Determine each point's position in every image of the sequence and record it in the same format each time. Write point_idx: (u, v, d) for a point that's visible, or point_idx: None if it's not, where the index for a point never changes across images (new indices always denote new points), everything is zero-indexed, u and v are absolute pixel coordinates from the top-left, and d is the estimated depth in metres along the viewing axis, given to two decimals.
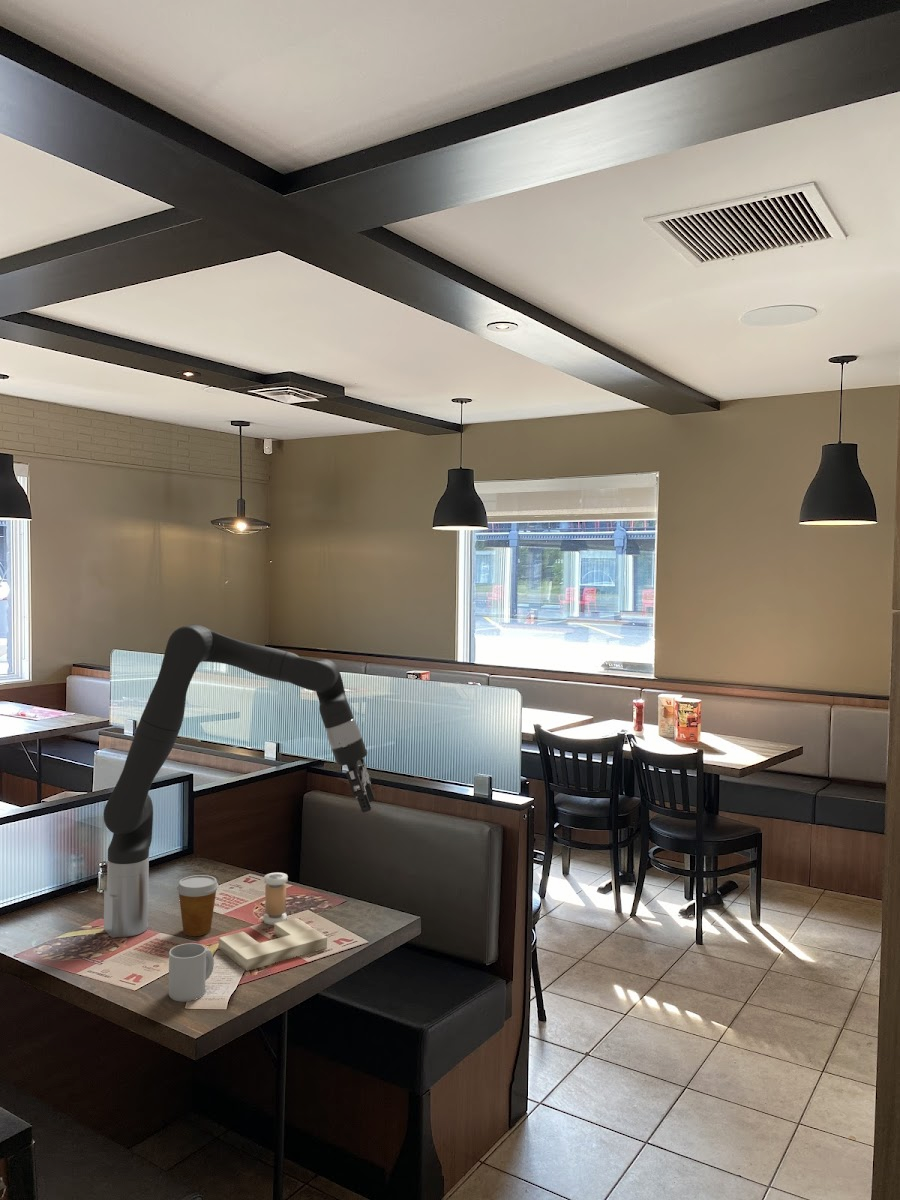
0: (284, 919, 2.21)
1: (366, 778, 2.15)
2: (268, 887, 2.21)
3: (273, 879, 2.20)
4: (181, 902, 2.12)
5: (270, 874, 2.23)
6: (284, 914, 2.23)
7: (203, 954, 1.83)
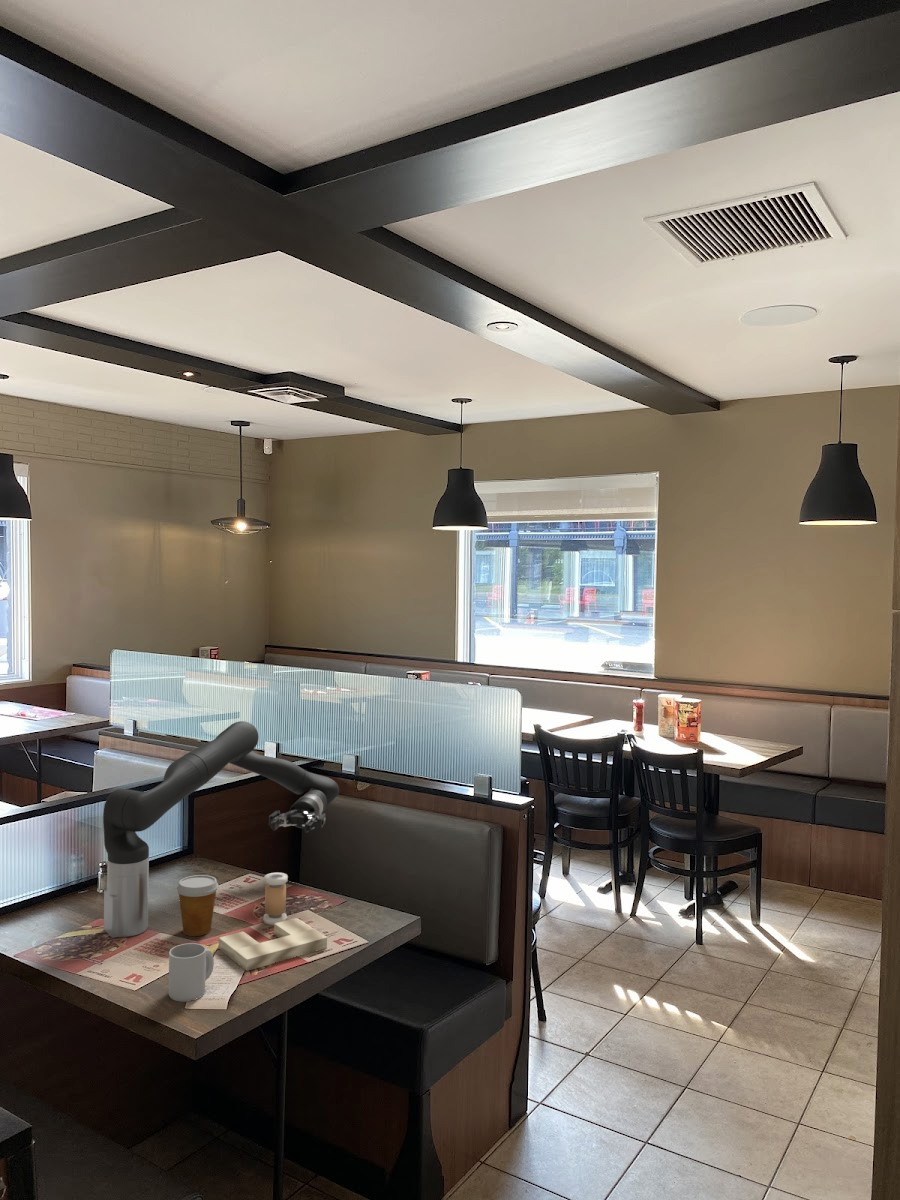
0: (284, 919, 2.21)
1: (285, 824, 2.39)
2: (268, 887, 2.21)
3: (273, 879, 2.20)
4: (181, 902, 2.12)
5: (270, 874, 2.23)
6: (284, 914, 2.23)
7: (203, 954, 1.83)
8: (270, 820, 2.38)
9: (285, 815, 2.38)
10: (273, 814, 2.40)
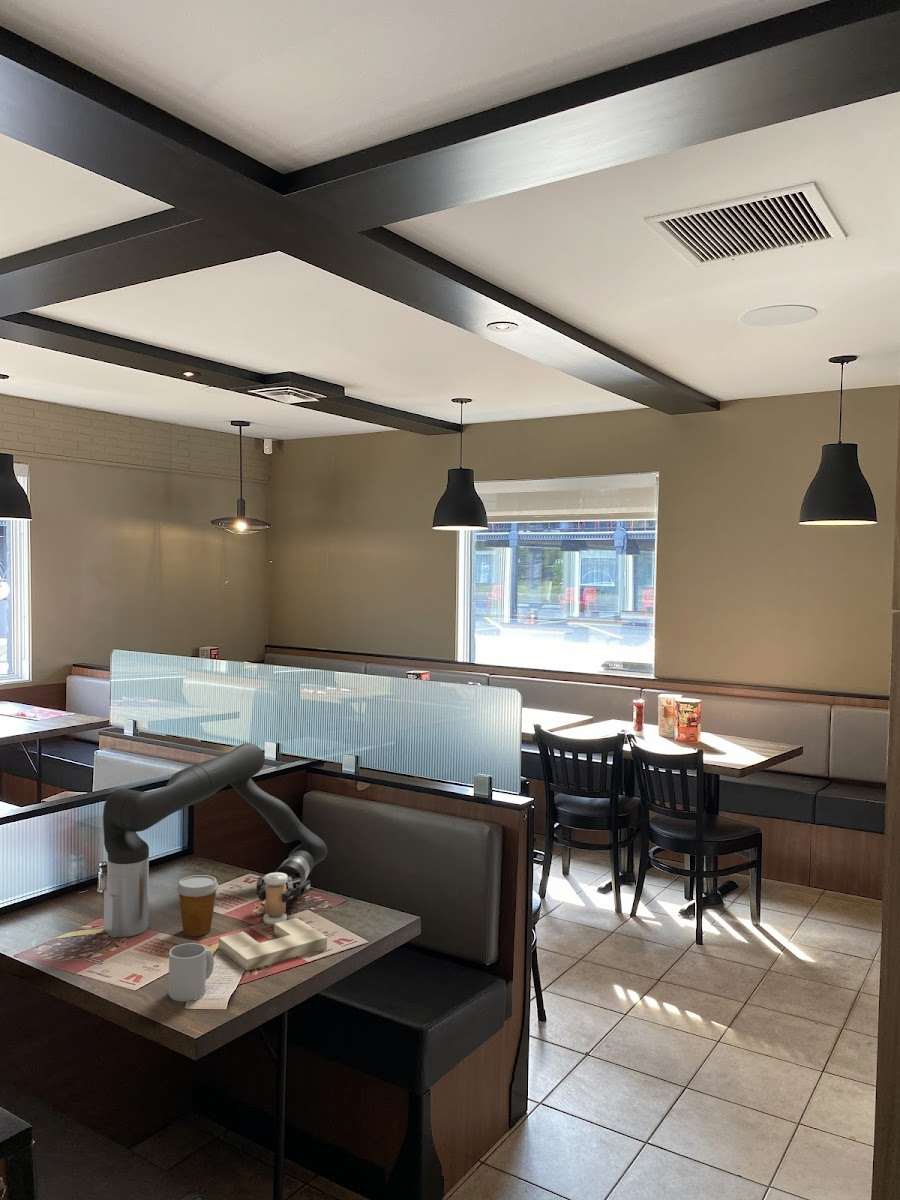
0: (284, 919, 2.21)
1: None
2: (268, 887, 2.21)
3: (273, 879, 2.20)
4: (181, 902, 2.12)
5: (270, 874, 2.23)
6: (284, 914, 2.23)
7: (203, 954, 1.83)
8: (257, 889, 2.24)
9: None
10: (259, 882, 2.26)
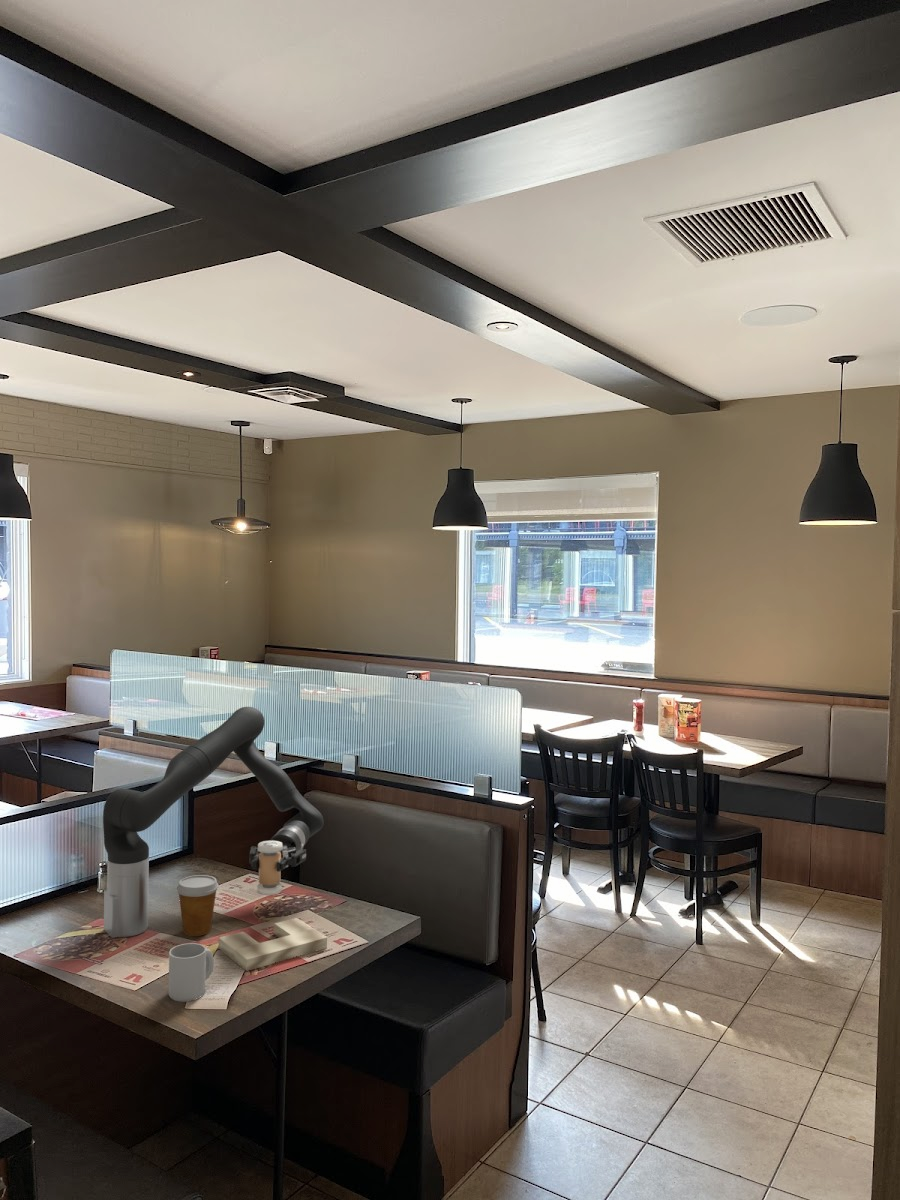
0: (279, 889, 2.10)
1: None
2: (262, 855, 2.10)
3: (267, 847, 2.09)
4: (181, 902, 2.12)
5: (264, 842, 2.12)
6: (279, 884, 2.12)
7: (203, 954, 1.83)
8: (251, 858, 2.13)
9: None
10: (252, 851, 2.15)
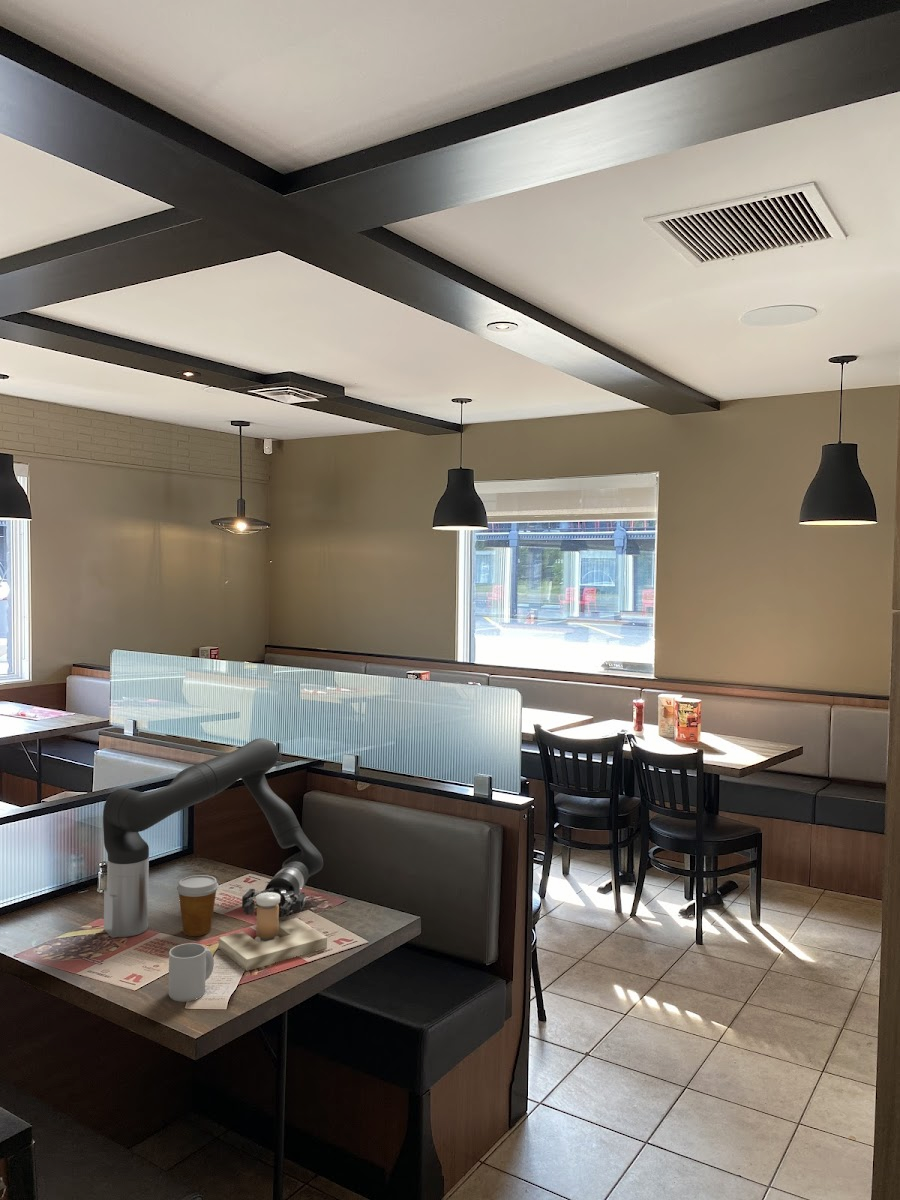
0: None
1: None
2: (260, 908, 2.07)
3: (265, 900, 2.06)
4: (181, 902, 2.12)
5: (262, 894, 2.10)
6: (277, 937, 2.10)
7: (203, 954, 1.83)
8: (243, 902, 2.12)
9: None
10: (247, 894, 2.14)
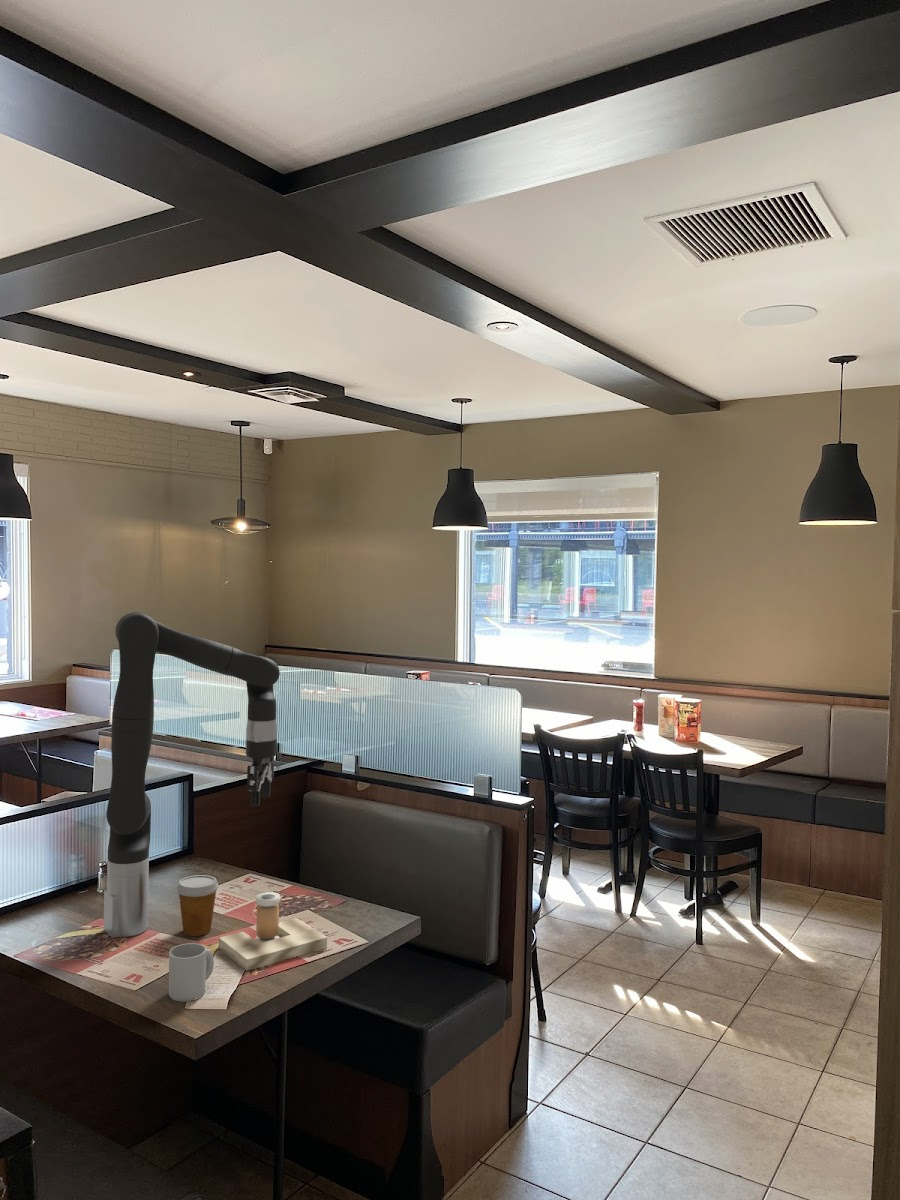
0: None
1: (268, 775, 2.29)
2: (260, 908, 2.07)
3: (265, 900, 2.06)
4: (181, 902, 2.12)
5: (262, 894, 2.10)
6: (277, 937, 2.10)
7: (203, 954, 1.83)
8: None
9: None
10: None
